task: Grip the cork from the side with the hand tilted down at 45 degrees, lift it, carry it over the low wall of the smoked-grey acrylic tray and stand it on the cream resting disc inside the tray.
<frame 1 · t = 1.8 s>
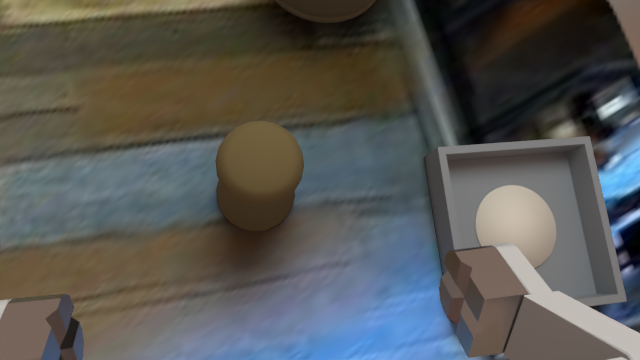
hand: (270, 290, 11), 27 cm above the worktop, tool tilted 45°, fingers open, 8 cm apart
tray: (511, 228, 41), on the worktop
resting spot: (515, 227, 41), resting on tray
cork: (255, 193, 39), on the worktop
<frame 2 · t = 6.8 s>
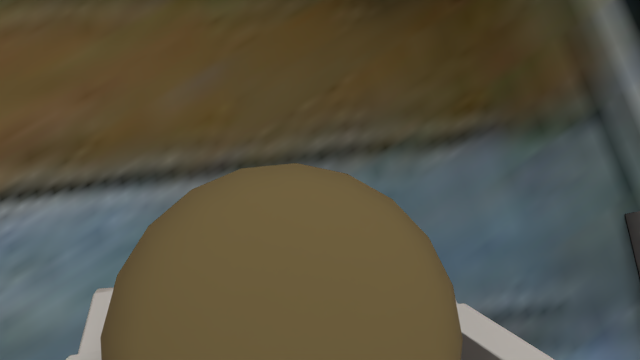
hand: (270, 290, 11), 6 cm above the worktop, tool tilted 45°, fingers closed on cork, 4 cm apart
cork: (263, 309, 17), on the worktop, touching gripper
when the fingers open (8 cm above the worktop, at t = 12.0 s): cork stays where it is, resting on resting spot.
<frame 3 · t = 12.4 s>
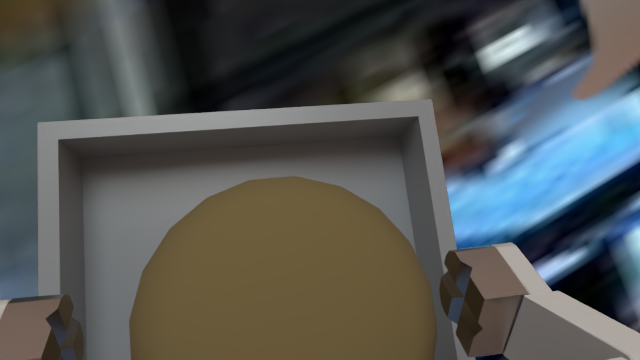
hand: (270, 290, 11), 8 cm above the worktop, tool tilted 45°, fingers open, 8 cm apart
tray: (262, 306, 19), on the worktop
cork: (262, 304, 18), point 1 cm above the worktop, touching resting spot
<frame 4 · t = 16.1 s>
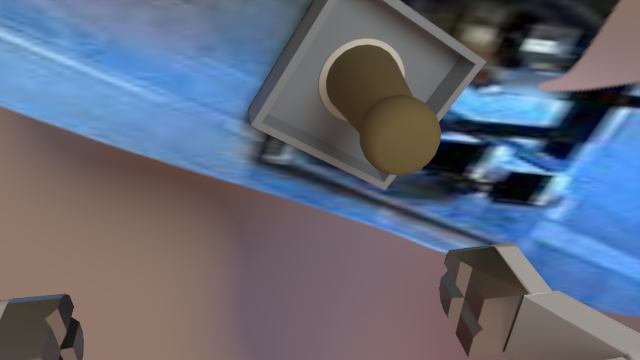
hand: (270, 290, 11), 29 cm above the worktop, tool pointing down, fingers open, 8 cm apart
tray: (359, 78, 40), on the worktop
resting spot: (361, 81, 40), resting on tray
cork: (362, 80, 40), point 1 cm above the worktop, touching resting spot
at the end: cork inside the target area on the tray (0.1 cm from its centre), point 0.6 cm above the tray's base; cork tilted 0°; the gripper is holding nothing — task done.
